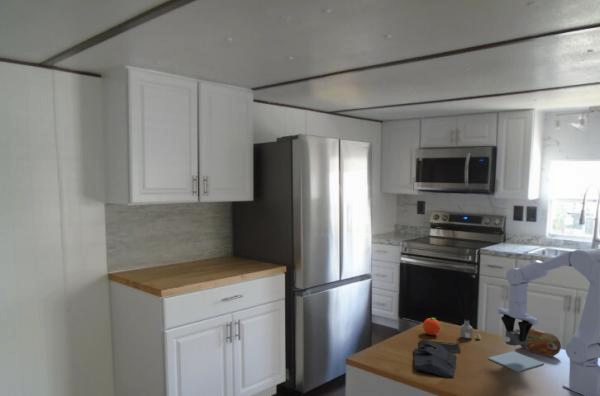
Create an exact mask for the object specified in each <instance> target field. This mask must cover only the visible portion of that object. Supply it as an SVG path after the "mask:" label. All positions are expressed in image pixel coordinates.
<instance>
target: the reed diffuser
mask: <svg viewBox="0 0 600 396" xmlns="http://www.w3.org/2000/svg"><path fill="white" fill-rule="evenodd" d="M465 292H466V293H465ZM465 292H463V299H464V301H465V302H464V308H465V311H467V303H468V289H466V291H465ZM458 293H459V292H458V291H457V290H456V295H457V297H458V302H459V305H460V308H461V313H462V315H463V319H464V321H463V322H464V323H463V324H462V325H461V326H460V331H459V332H460V337H462V338H463V339H471V338H473V331H474V329H473V326H471V325H470V319H471V315H472V312H473V309H474V305H475V302H476V300H477V299H476V298H477V295H478V291H476V294H475V296H474V300H473V303H472V307H471V310H470V313H469V316H468V312H465V313H464V310H463V307H462V304H461V300H460V297H459V296H460V295H459V294H458ZM465 294H466V295H465ZM465 316H466V317H465ZM474 339H476V340H482V336H481V334H479V333H477V334H476V335H475V336H474Z"/></svg>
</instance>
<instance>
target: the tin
mask: <svg viewBox="0 0 600 396" xmlns="http://www.w3.org/2000/svg"><path fill="white" fill-rule="evenodd" d="M519 346H520V347H521V348H522V349H524V350H525V351H528V352H532V353H534V354H537V355H538V354H539V355H542V356H545V357H548V358H549V357H551V358H552V357H555V356H556V355H558V354H559V353H560V352H561V349H562V348H561V347H562V346H561V341H560V339H559V338H558V337H557V336H556V335H555V334H553V333H550V332H546V331H543V330H538V329H535V328H532V327H531V328H530V330H529V332H528V336H527V344H522V345H519Z"/></svg>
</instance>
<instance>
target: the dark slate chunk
mask: <svg viewBox="0 0 600 396" xmlns="http://www.w3.org/2000/svg"><path fill="white" fill-rule="evenodd" d="M426 341H427V342H426V343H425V344H424V349H420V348H416V347H415V348H413V361H414V365H413V366H414V368H415V369H416V370H417V371H419V372H423V373H424V372H425V373H429V374H431V375H436V376H439V377H442V378H445V379H446V378H449V379H451V378H452V379H454V377H455V372H456V368H457V358H458V357H457V355H456V354H455V353H452V352H449V351H447V350H446V349H445V348H444V347H443V346H441V345H439V344H436V343H433V342H431V341H432V340H426Z"/></svg>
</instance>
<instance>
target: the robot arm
mask: <svg viewBox="0 0 600 396" xmlns="http://www.w3.org/2000/svg"><path fill="white" fill-rule="evenodd" d="M565 266H567V267H572V268H573V269H575V270H576V271H577V272H578V273H580V274H581V275H582V276H584V277H585V278H586V279H587V281H588V282H589V287H588V291H587V295H586V298H585V301H584V305H583V309H582V314H581V317H580V321H579V324H578V329H577V330H576V331H575V333H573V335H572V336H571V339H570V341H569V342H568V343H567V344H566V345H565V353H566V355H567V358H568V359H569V377H568V378H569V379H568V382H567V383H564V384H562V388H563V387H564V388H566V389H568V390H570V391H572V392H574V393H577V394H580V395H581V396H600V365H599V363H598V362H599V358H600V248H597V247H595V248H594V247H593V248H588V249H575V250H574V251H573V250H572V251H566V252H564V253H562V254H559V255H557V256H555V257H552V258H549V259H546V260H545V261H542V260H538V259H531V260H530V261H529V263H526V264H519V265H518V267H511V268H510V269H508V270H507V271H506V274H505V276H506V277H505V278H506V280H507V282H508V283H509V285H508V286H509V288H508V289H509V290H508V308H504V307H498V308H497V314H498V315H503V316H501V317H500V320H501V321H502V323H503V325H504V328H505V332H506V331H507V330H515V323H516V320H519V321H518V322H517V326H518V329H520V341H521V342H523V341H526V337H527V334H528V332H529V330H530V328H531V329H532V327H533V326H537V325H539V318H536V317H534V316H532V315H530V314H528V313H527V303H528V302H527V301H528V287H529V283H531V282H532V281H534V280H538V279H540V278H543V277H546V276H547V274H548V272H549V271H551V270H556V269H559V268H562V267H565Z"/></svg>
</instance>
